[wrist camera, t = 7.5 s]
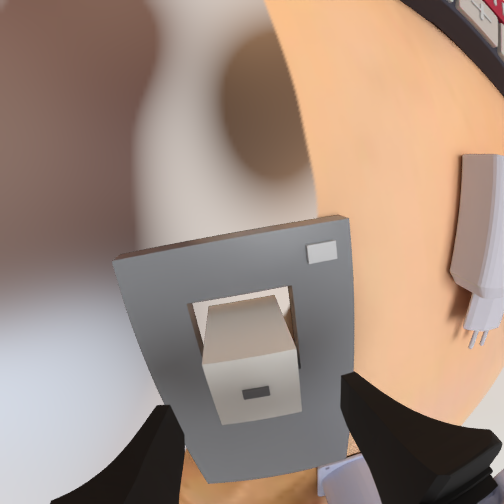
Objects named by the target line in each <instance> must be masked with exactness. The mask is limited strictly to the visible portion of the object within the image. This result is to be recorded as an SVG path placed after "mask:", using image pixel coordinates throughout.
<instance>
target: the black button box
mask: <svg viewBox="0 0 504 504" xmlns="http://www.w3.org/2000/svg"><path fill="white" fill-rule="evenodd" d="M400 1H402V2H403V3H405V4H406V5H408V6H409V7H410V8H412V9H413V10H414V11H416V12H417V13H418V14H420V15H421V16H422V17H424V18H425V19H426V20H428V21H431V22H433V23H434V24H435V25H436V26H438V27H439V28H440V29H441V30H442V31H443V32H444V33H445V34H446V35H447V36H448V37H449V38H450V39H452V40H453V41H454V42H455V43H456V44H457V45H458V46H459V47H460V48H461V49H462V50H463V52H464V53H465V54H466V55H467V56H468V57H469V58H470V59H471V60H472V61H473V62H474V63H475V64H476V65H477V66H478V67H479V68H480V69H481V71H482V72H483V73H484V74H485V75H486V76H487V77H488V78H489V80H490V81H491V82H492V83H493V84H494V85H495V87H496V88H497V89H498V90H499V91H500V93H501V94H502V95H503V96H504V1H503V0H400Z"/></svg>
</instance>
